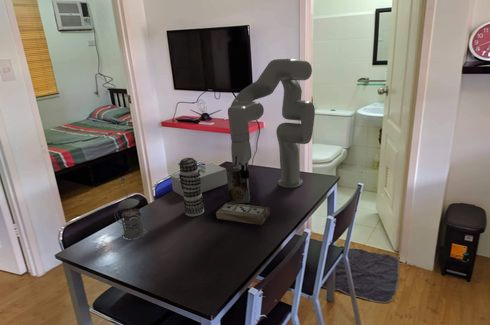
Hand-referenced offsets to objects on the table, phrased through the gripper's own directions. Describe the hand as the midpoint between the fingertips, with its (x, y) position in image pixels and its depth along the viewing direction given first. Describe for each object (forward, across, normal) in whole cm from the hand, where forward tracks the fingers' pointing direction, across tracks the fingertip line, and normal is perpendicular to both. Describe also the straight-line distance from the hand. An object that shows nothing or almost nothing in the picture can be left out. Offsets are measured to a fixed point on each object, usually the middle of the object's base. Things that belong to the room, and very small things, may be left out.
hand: (245, 177), depth 148 cm
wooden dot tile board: (+16, +5, -1) cm, 17 cm away
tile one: (+16, +5, -7) cm, 18 cm away
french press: (+15, +30, -39) cm, 51 cm away
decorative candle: (+16, +6, -24) cm, 29 cm away
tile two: (+16, +5, +6) cm, 17 cm away
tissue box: (+17, -20, -36) cm, 45 cm away
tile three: (+16, +5, -1) cm, 16 cm away
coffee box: (+17, -9, -9) cm, 21 cm away
